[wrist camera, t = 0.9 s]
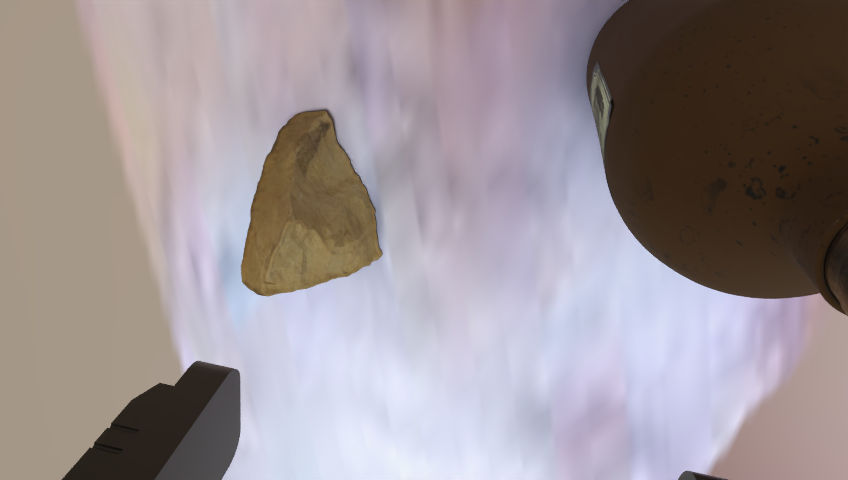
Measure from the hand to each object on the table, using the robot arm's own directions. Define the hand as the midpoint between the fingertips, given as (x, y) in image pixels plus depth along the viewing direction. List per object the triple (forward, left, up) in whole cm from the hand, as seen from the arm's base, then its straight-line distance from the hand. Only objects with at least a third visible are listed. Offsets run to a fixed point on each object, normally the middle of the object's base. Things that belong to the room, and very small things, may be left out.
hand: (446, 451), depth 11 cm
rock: (+2, -13, -29) cm, 32 cm away
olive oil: (+2, +9, -29) cm, 31 cm away
